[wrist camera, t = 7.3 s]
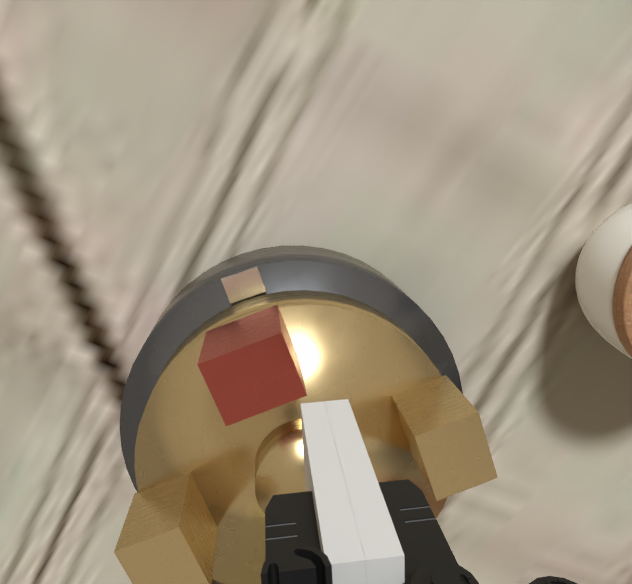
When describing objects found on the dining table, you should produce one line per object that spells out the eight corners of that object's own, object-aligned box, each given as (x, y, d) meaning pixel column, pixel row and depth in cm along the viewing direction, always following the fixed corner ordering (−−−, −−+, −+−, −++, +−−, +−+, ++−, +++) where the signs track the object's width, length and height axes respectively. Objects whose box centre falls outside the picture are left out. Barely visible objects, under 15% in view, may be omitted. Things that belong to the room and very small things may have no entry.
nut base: (463, 463, 38) (495, 510, 33) (205, 554, 37) (197, 616, 32) (392, 202, 32) (418, 211, 27) (87, 306, 32) (55, 334, 27)
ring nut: (392, 244, 27) (437, 273, 21) (472, 495, 32) (529, 585, 25) (92, 357, 27) (38, 424, 20) (217, 594, 32) (207, 711, 25)
